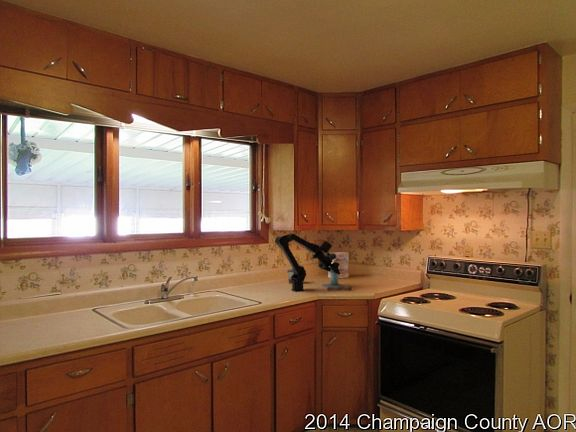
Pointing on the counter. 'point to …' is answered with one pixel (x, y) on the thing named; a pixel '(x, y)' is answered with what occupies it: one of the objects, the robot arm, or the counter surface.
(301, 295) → the counter surface
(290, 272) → the food container
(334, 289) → the bar
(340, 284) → the mat
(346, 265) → the coffeecake box
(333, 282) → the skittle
